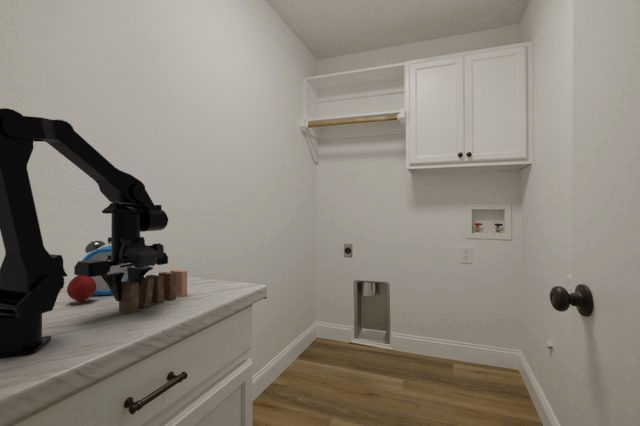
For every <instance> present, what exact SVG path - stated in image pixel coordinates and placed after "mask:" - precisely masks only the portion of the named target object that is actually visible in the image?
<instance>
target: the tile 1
mask: <svg viewBox="0 0 640 426" xmlns="http://www.w3.org/2000/svg"><path fill="white" fill-rule="evenodd" d="M121 285H122V296H121V301H120V302H118V312H121V313H126V314H129V315H130V314H131V315H134V314H135V313H138V312H139V308H140V307H139V283H137V282H131V281H122V282H121Z"/></svg>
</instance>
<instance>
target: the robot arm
mask: <svg viewBox="0 0 640 426" xmlns="http://www.w3.org/2000/svg"><path fill="white" fill-rule="evenodd" d="M34 142H44V143H47V144H48V145H49V146H51V147H52V148H53V149H55V150H56V152H58V153H59V154H60V155H62V156H63V157H65V158H66V159H67V160H68V161H70V162H71V163H72V164H73V165H74V166H75V167H77V168H78V169H80V170H81V171H82V172H84V174H85V175H87V176H88V177H89V178H91V179H92V180H93V181H94V182H96V183H97V185H98V188H99V191H100V193H101V194H102V195H103V196H104V197H105V198H106V199H107V200H108V201H109V202H110V203H109V205H108V206H107V207H105V208H104V209H103V210H102V211H101V213H102V214H103V215H104V214H107V215H108V214H109V215H110V214H111V230H110V231H111V234H110V235H111V236H110V237H107V242H111V243H110V246H111V255H108V260H111V261H106V260H98V259H93V260H85V261H82V260H80V261H77V263H76V264H75V265H74V272H73V273H74V276H77V275H80V276H86V277H94V276H101V277H102V278H103V279H104V281H105V282H106V283H107V285H108V287H109V288H110V290H111V292H112V294H111V295H112V296H113V298H114V299H115V302H118V303H119V302H120V301H121V296H122V285H121V279H122V277H123V276H124V274H125V273H122V272H120V268H121V267H127V266H131V267H127V271H128V281H131V282H137V283H139V286H140V284H141V281H142V279H143V277H145V276H146V274H147V273H148V272H149V271H152V270H153V269H154V266H155V265H157V266H161V265H162V266H163V265H166V264H169V256H168V255H167V253H166V252H165V249H164V248H165V247H164V245H163V244H162V243H159V242H158V243H153V244H152V245H147V244H146V239H145V237H143V236H141V232H154V231H155V232H156V231H163V230H164V229H165V228H167V226H168V223H169V217H168V215H167V213H166V212H165V210H163V209H162V204H155V203H154V202H153V200H152V198H151V197H150V195H149V193H148V192H147V190H146V186H145V184H144V183H143V182H142V181H141V180H140V179H138V178H136V177H135V176H134V175H133V174H130V173H128V172H125V171H122V170H120V169H118V168H117V167H116V166H115V165H114V164H112V163H111V162H110V161H109V160H108V159H106V157H104V156H103V155H102V154H101V153H100V152H99V151H97V150H96V148H94V146H92V145H91V144H90V143H89V142H88V141H86V139H84V138H83V137H82V136H81V135H80V134H79V133H77V131H76V130H75V129H74V127H73V125H72V124H71V123H69V122H68V121H65V120H62V119H50V118H45V117H42V116H41V117H37V116H27V115H23V114H22V113H20V112H18V111H16V110H14V109H12V108H4V107H3V108H0V234H1V239H2V242H3V243H2V244H3V247H4V250H5V251H4V253H5V256H4V258H3V260H2V263H1V264H0V265H1V266H0V358H7V357H15V356H22V355H31V354H34V353H35V352H38V351H39V349H40V348H42V347H43V346H44V345H46V344H47V343H48V342H49V341H51V340H52V335H47V336H45V335H44V336H43V314H44V313H48V312H51V311H53V309H54V307H55V305H56V301H57V299H58V296H59V294H60V292H61V290H62V289H64V286H65V278H66V277H68V274H67V272H66V271H65V268H64V258H63V256H62V255H61V254H51V253H50V252H48V251H47V249H46V248H45V246H44V241H43V236H42V231H41V228H40V227H41V226H40V222H39V217H38V212H37V208H36V203H35V199H34V194H33V191H32V190H33V189H32V185H31V179H30V176H29V175H30V174H29V172H28V164H29V161H30V159H31V156H32V153H33V151H34Z"/></svg>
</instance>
